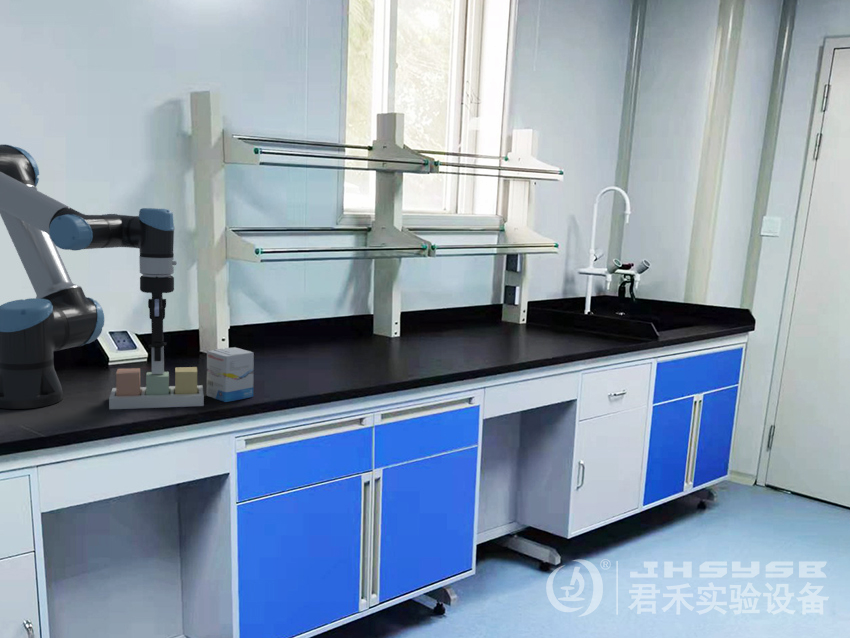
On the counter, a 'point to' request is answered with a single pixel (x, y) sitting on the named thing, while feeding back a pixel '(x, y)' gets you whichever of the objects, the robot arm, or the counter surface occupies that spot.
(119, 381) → the terracotta button
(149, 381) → the sage button
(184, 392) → the ochre button
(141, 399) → the board
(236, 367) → the ink box
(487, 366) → the counter surface
